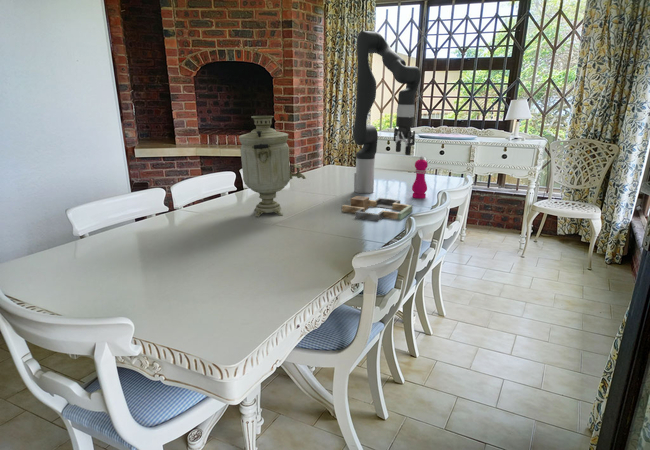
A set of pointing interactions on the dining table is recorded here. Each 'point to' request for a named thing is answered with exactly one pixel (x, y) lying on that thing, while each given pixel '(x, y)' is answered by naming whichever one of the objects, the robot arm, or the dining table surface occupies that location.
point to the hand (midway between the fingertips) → (402, 153)
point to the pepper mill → (420, 179)
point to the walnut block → (360, 202)
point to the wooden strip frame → (386, 214)
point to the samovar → (266, 163)
